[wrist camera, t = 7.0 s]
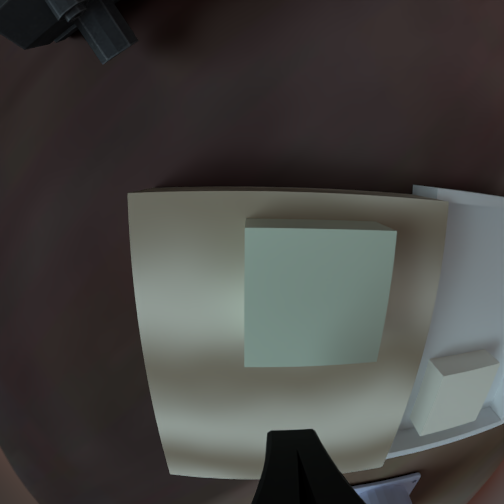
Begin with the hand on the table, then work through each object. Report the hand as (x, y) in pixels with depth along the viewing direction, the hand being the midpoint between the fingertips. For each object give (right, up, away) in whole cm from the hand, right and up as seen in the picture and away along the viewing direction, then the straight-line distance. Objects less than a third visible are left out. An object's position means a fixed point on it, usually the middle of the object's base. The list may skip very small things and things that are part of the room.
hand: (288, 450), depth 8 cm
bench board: (+1, +1, +9) cm, 9 cm away
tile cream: (+12, -4, +7) cm, 15 cm away
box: (+13, +1, +9) cm, 16 cm away
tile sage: (+1, +5, +4) cm, 6 cm away
